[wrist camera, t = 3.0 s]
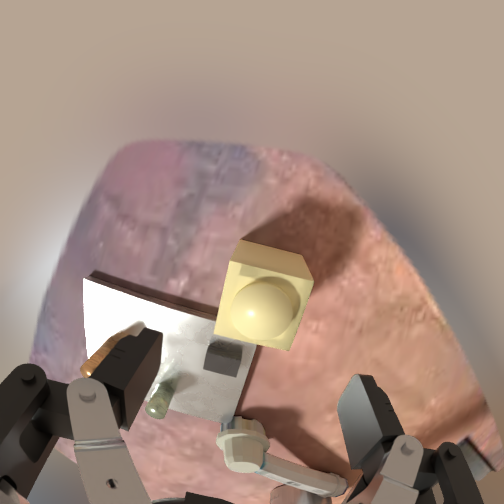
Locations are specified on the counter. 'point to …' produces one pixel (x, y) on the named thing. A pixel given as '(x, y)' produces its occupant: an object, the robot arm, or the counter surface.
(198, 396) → the plate
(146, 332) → the robot arm
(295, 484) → the white handheld device
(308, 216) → the counter surface
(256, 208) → the counter surface
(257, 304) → the cube with dome bump
